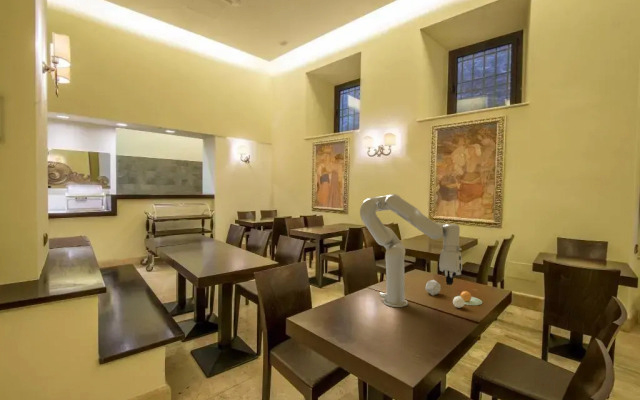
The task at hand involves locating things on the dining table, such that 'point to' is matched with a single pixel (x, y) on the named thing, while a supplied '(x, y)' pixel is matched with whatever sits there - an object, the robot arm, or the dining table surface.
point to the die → (433, 287)
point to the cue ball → (458, 302)
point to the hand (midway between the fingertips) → (449, 284)
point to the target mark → (473, 301)
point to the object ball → (466, 296)
